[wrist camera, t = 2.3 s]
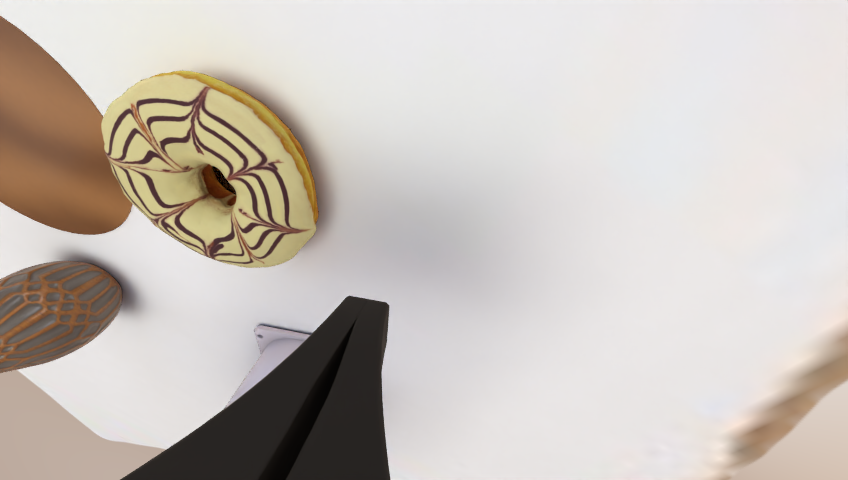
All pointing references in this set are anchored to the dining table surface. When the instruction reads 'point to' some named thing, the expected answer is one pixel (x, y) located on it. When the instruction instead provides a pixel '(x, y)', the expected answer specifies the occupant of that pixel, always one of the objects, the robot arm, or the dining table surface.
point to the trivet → (52, 144)
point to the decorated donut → (193, 174)
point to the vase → (53, 311)
